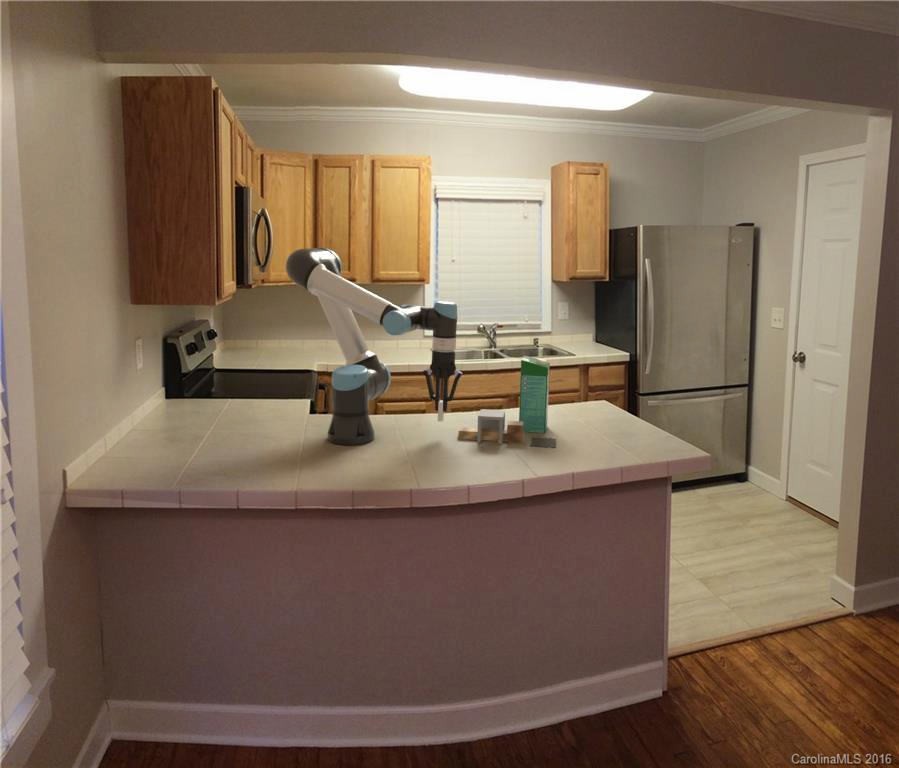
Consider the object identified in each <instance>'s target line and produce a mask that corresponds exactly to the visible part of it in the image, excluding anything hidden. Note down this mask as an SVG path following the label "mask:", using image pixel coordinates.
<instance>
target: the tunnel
mask: <svg viewBox="0 0 899 768" xmlns="http://www.w3.org/2000/svg"><path fill="white" fill-rule="evenodd" d="M505 422H506V410H504V409H483V408H481V409H480V410H479V413H478V414H477V429H478V435H477V440H476V441H477V442H476V444H481V443H482V440H481V429H496V430H499V441H498V445H503V441H502V440H503V430H506V429H505V426H506V423H505Z"/></svg>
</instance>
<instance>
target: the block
mask: <svg viewBox="0 0 899 768" xmlns="http://www.w3.org/2000/svg"><path fill="white" fill-rule="evenodd" d="M506 425H507V426H506V430H507V441H506V443H507V442H510V443H511V444H512V443H513V444H523V441H524V432H523V426H524V422H523V421H519V420H508V422H507V424H506Z"/></svg>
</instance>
